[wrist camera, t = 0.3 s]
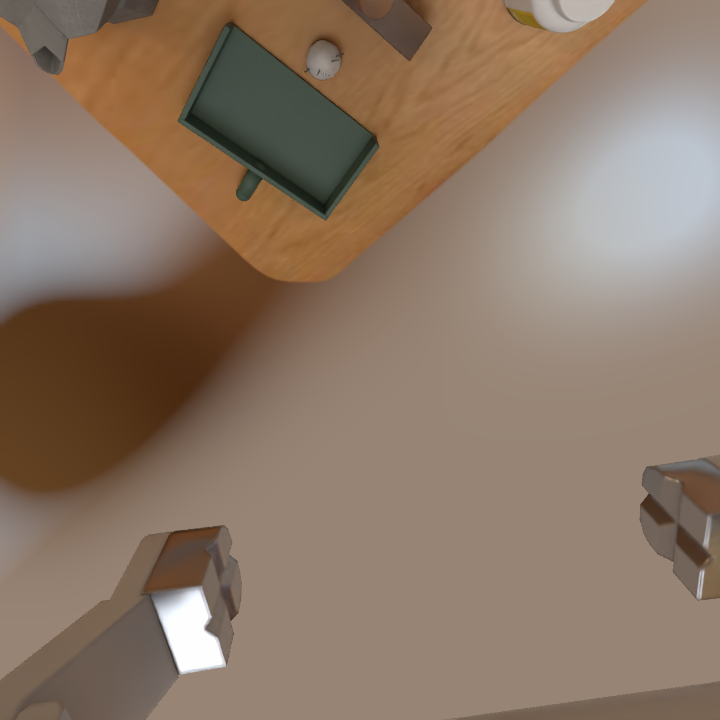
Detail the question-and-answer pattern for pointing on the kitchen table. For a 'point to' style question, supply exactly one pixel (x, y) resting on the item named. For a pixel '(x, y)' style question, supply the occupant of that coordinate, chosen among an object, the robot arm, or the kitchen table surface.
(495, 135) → the kitchen table surface
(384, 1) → the brush
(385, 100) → the kitchen table surface
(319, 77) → the grey dome with legs
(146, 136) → the kitchen table surface
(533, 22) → the pill bottle
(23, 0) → the coffeepot
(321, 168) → the dustpan
